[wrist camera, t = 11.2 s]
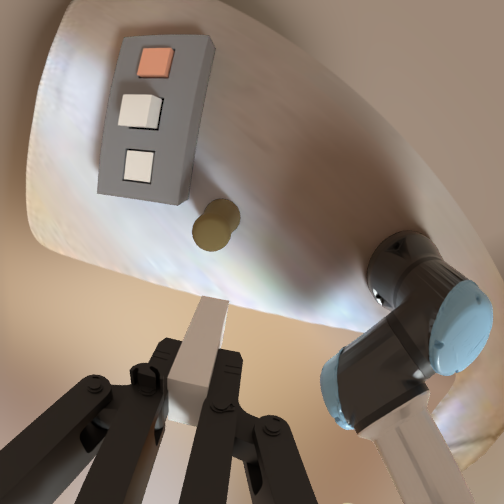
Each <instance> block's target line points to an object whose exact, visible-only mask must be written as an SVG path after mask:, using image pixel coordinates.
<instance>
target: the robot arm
mask: <svg viewBox="0 0 504 504" xmlns="http://www.w3.org/2000/svg"><path fill="white" fill-rule="evenodd" d="M367 282H368V287H369V290H370V292H371V294H372V295H373V297H374V298H375V300H376V301H377V302H378V303H379V304H380V305H381V306H382V307H384V308H386V309H388V310H390V311H392V312H391V313H389V314H388V315H387V316H386V317H384V318H383V319H382V320H381V321H379V322H378V323H377V324H376V325H374V326H373V327H372V328H371V329H369V330H368V331H367V332H365V333H364V334H363V335H361V336H360V337H358V338H357V339H356V340H354V341H353V342H352V343H350V344H349V345H348V346H345V347H343V348H342V349H341V350H340V351H339V353H337V354H336V355H335V356H333V357H332V358H331V359H330V360H328V361H327V362H326V363H325V365H324V366H323V368H322V373H321V375H320V386H321V392H322V396H323V399H324V402H325V405H326V407H327V409H328V411H329V413H330V415H331V416H332V417H334V418H335V422H336V423H337V424H338V425H339V426H340V427H342V428H344V429H347V430H349V429H355V431H356V433H357V435H358V436H359V437H361V438H366V439H369V440H371V441H373V442H374V444H375V446H376V448H377V450H378V452H379V454H380V456H381V458H382V460H383V462H384V464H385V466H386V468H387V470H388V472H389V474H390V476H391V478H392V480H393V483H394V485H395V487H396V489H397V491H398V493H399V495H400V497H401V499H402V501H403V503H404V504H476V503H475V500H474V498H473V496H472V494H471V492H470V490H469V488H468V485H467V483H466V481H465V479H464V477H463V475H462V473H461V471H460V469H459V467H458V465H457V463H456V461H455V459H454V457H453V455H452V453H451V451H450V449H449V447H448V445H447V443H446V442H445V440H444V438H443V436H442V434H441V432H440V431H439V429H438V427H437V425H436V423H435V422H434V420H433V418H432V416H431V414H430V413H429V411H428V408H427V404H428V400H429V396H430V390H429V389H428V387H427V386H426V384H425V381H426V380H427V379H428V378H430V377H431V376H432V375H434V374H435V373H439V374H441V375H443V376H450V375H453V374H454V373H455V372H456V373H458V372H460V371H462V370H463V369H465V368H466V367H467V366H469V365H470V364H471V363H472V362H473V361H474V360H475V359H476V357H477V356H478V355H479V353H480V352H481V351H482V349H483V347H484V346H485V344H486V342H487V339H488V337H489V333H490V330H491V328H492V323H493V309H492V305H491V302H490V300H489V298H488V297H487V295H486V294H485V293H483V292H482V291H481V290H480V289H479V287H478V286H477V285H476V284H475V282H473V281H471V280H469V279H468V278H466V277H465V276H464V275H462V274H461V273H460V272H458V271H457V270H456V269H454V268H453V267H451V266H450V265H449V264H447V263H446V262H444V260H443V258H442V256H441V255H440V253H439V251H438V249H437V247H436V245H435V244H434V243H433V242H432V241H431V240H430V239H429V238H427V237H426V236H424V235H422V234H421V233H418V232H415V231H402V232H399V233H396V234H394V235H392V236H390V237H388V238H387V239H386V240H384V241H383V242H382V243H381V244H380V245H379V247H378V248H377V249H376V251H375V252H374V254H373V256H372V258H371V260H370V263H369V266H368V271H367ZM228 305H229V301H227V300H221V299H216V298H211V297H206V296H202V297H201V300H200V302H199V304H198V307H197V309H196V311H195V313H194V316H193V318H192V320H191V323H190V325H189V327H188V330H187V332H186V334H185V337H184V339H183V341H179V340H175V339H171V338H165V339H163V340H162V341H161V342H159V343H158V345H157V347H156V349H155V351H154V353H153V355H152V357H151V359H150V361H149V363H140V364H137V365H135V366H133V367H132V368H131V369H130V377H131V384H130V385H111V384H110V382H109V380H107V379H106V378H105V377H103V376H100V375H89V376H87V377H85V378H83V379H82V380H81V381H80V382H78V383H77V384H76V385H75V386H74V387H73V388H71V389H70V390H69V391H68V392H67V393H66V394H64V395H63V396H62V397H61V398H60V399H59V400H57V401H56V402H55V403H54V404H53V405H52V406H51V407H50V408H48V409H47V410H46V411H45V412H44V413H43V414H41V415H40V416H39V417H38V418H37V419H36V420H34V421H33V422H32V423H31V424H30V425H29V426H28V427H26V428H25V429H24V430H23V431H22V432H21V433H20V434H19V435H17V436H16V437H15V438H14V439H13V440H12V441H11V442H10V443H8V444H7V445H6V446H5V447H4V448H3V449H2V450H0V504H53V502H54V501H55V500H56V499H57V498H58V497H59V496H60V495H61V493H63V491H64V490H65V489H66V488H67V487H68V486H69V485H70V484H71V483H72V481H73V480H74V479H75V478H76V477H77V476H78V475H79V474H80V472H81V471H82V470H83V469H84V468H85V467H86V466H87V465H88V464H89V462H90V461H91V460H92V459H93V458H94V457H95V456H96V457H95V459H94V461H93V463H92V465H91V468H90V470H89V472H88V474H87V476H86V479H85V481H84V483H83V485H82V488H81V490H80V492H79V494H78V497H77V499H76V501H75V503H74V504H142V500H143V497H144V494H145V490H146V487H147V484H148V481H149V478H150V475H151V472H152V468H153V465H154V462H155V459H156V456H157V453H158V450H159V447H160V444H161V441H162V438H163V435H164V432H165V421H166V418H167V415H168V420H171V421H175V422H179V423H183V424H187V425H192V426H196V427H197V429H196V434H195V437H194V442H193V446H192V450H191V454H190V458H189V462H188V466H187V470H186V475H185V479H184V483H183V487H182V491H181V496H180V500H179V504H226V500H227V493H228V485H229V478H230V470H231V461H232V456H233V457H236V458H237V459H240V460H242V461H243V464H244V468H245V473H246V477H247V482H248V486H249V491H250V494H251V499H252V503H253V504H318V502H317V500H316V497H315V495H314V492H313V489H312V487H311V484H310V481H309V479H308V476H307V474H306V470H305V468H304V465H303V462H302V460H301V457H300V454H299V451H298V449H297V446H296V443H295V440H294V438H293V435H292V432H291V429H290V427H289V425H288V424H287V422H286V421H285V420H283V419H282V418H280V417H278V416H274V415H267V416H262V417H261V418H257V417H255V416H252V415H250V414H248V413H246V412H245V411H244V410H243V409H242V408H241V406H240V405H239V402H238V396H239V388H240V379H241V372H242V364H243V359H242V357H241V355H240V353H239V352H235V351H229V350H224V349H221V345H222V341H223V335H224V329H225V323H226V316H227V310H228Z"/></svg>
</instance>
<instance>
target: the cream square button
mask: <svg viewBox="0 0 504 504" xmlns="http://www.w3.org/2000/svg"><path fill="white" fill-rule="evenodd" d="M154 157H155V152H153V151H143V150H127V156H126V165H125V174H124V179H128V180H136V181H144V182H151V180H152V172H153V164H154Z"/></svg>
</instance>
